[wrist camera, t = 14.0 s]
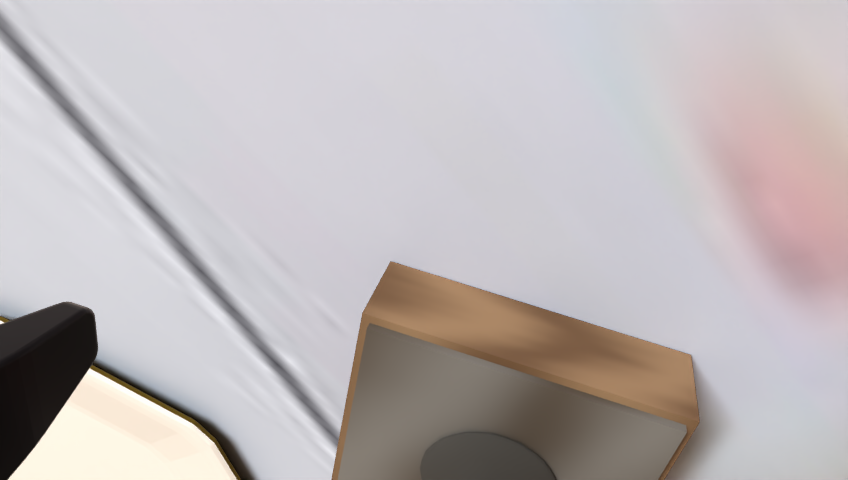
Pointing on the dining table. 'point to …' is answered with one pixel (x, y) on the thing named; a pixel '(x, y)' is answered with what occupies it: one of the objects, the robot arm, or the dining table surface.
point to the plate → (123, 439)
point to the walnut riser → (507, 385)
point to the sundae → (482, 459)
